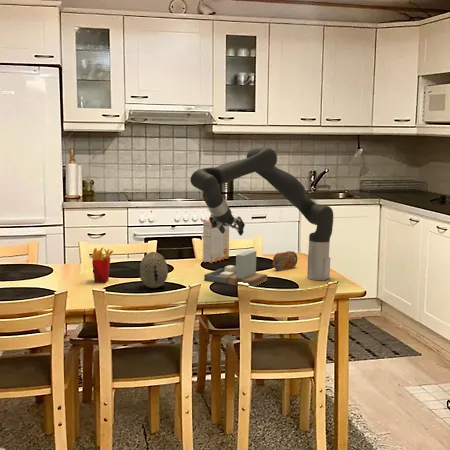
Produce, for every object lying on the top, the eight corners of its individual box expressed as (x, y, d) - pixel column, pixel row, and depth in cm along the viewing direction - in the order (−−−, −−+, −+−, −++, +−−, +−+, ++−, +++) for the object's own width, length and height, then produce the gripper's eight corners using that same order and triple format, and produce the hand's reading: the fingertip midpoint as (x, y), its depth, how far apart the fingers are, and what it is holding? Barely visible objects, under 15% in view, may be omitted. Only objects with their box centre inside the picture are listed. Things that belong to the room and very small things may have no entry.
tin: (275, 271, 288) (276, 254, 287) (271, 270, 291) (271, 253, 289) (297, 267, 298) (298, 250, 297) (292, 266, 301) (293, 249, 299)
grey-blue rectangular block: (255, 273, 271) (256, 251, 269) (242, 278, 261) (243, 255, 259) (248, 272, 273) (249, 250, 271) (235, 277, 262) (236, 254, 261)
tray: (242, 277, 276) (243, 271, 275) (226, 284, 263) (226, 278, 263) (221, 273, 281) (221, 268, 281) (204, 280, 268) (204, 274, 268)
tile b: (233, 279, 269) (234, 272, 269) (228, 281, 265) (228, 274, 265) (224, 277, 271) (225, 271, 271) (219, 280, 267) (219, 273, 267)
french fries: (95, 279, 266) (95, 245, 264) (114, 279, 266) (114, 245, 263) (90, 284, 257) (90, 249, 255) (110, 284, 257) (110, 249, 255)
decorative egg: (170, 290, 251) (170, 254, 248) (141, 292, 247) (141, 255, 245) (164, 283, 262) (165, 248, 259) (137, 284, 258) (137, 249, 256)
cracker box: (220, 257, 316) (221, 217, 313) (229, 259, 312) (230, 218, 309) (202, 261, 305) (202, 220, 302) (211, 263, 302) (212, 221, 298)
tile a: (235, 266, 275) (229, 265, 276) (230, 267, 271) (224, 266, 273) (235, 275, 276) (229, 274, 277) (230, 277, 272) (224, 276, 273)
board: (266, 281, 269) (267, 274, 269) (252, 288, 257) (252, 281, 257) (242, 277, 275) (243, 271, 275) (227, 284, 263) (227, 277, 263)
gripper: (238, 202, 242) (250, 227, 254) (207, 199, 249) (221, 224, 261) (231, 217, 238) (244, 241, 250) (200, 214, 245) (214, 238, 257)
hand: (232, 232), depth 255 cm, fingers open, 8 cm apart
